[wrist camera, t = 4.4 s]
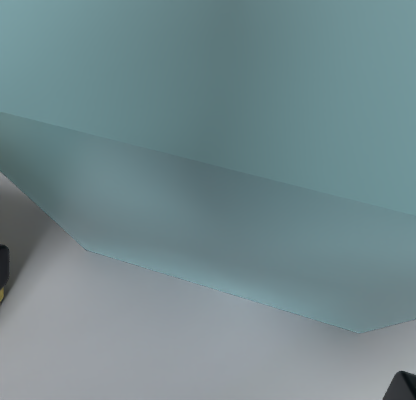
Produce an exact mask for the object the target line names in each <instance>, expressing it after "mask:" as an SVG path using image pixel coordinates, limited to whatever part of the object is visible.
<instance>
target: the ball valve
mask: <svg viewBox="0 0 416 400" xmlns="http://www.w3.org/2000/svg"><path fill="white" fill-rule="evenodd" d="M3 290H4V287H3V288H2V289H1V290H0V302H1V300H2V299H3Z"/></svg>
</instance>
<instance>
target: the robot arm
mask: <svg viewBox="0 0 416 400" xmlns="http://www.w3.org/2000/svg"><path fill="white" fill-rule="evenodd" d="M9 275H10V267H9V249H8V247H7V246H5V245H3V244H0V290H1V289H2V288H3V287H4V286H5V285H6V283H7V281H8V279H9ZM383 400H416V375H414V374H411V373H408V372H405V371H399V372H397V373H396V374H395V376H394V378H393V380H392V382H391V384H390V386H389V388H388V389H387V391H386V393H385V395H384V397H383Z"/></svg>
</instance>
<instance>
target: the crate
mask: <svg viewBox="0 0 416 400" xmlns="http://www.w3.org/2000/svg"><path fill="white" fill-rule="evenodd" d="M0 171H1V172H2V173H3V174H4V175H5V176H6V177H7V178H8V179H9V180H10V181H11V182H13V183H14V184H15V185H16V186H17V187H18V188H19V189H20V190H21V191H22V192H23V193H24V194H26V195H27V196H28V197H29V198H30V199H31V200H32V201H33V202H34V203H35V204H36V205H38V206H39V207H40V208H41V209H42V210H43V211H44V212H45V213H46V214H47V215H48V216H49V217H51V218H52V219H53V220H54V221H55V222H56V223H57V224H58V225H59V226H60V227H61V228H63V229H64V230H65V231H66V232H67V233H68V234H69V235H70V236H71V237H72V238H73V239H74V240H76V241H77V242H78V243H79V244H80V245H81V246H82V247H83V248H84V249H85V250H88V251H91V252H94V253H98V254H101V255H104V256H107V257H111V258H114V259H117V260H121V261H124V262H127V263H130V264H134V265H137V266H140V267H143V268H147V269H150V270H153V271H157V272H160V273H163V274H166V275H170V276H173V277H176V278H179V279H183V280H186V281H189V282H193V283H196V284H199V285H202V286H206V287H209V288H212V289H216V290H219V291H222V292H225V293H229V294H232V295H235V296H238V297H242V298H245V299H248V300H252V301H255V302H258V303H261V304H265V305H268V306H271V307H274V308H278V309H281V310H284V311H288V312H291V313H294V314H297V315H301V316H304V317H307V318H310V319H314V320H317V321H320V322H324V323H327V324H330V325H333V326H337V327H340V328H343V329H346V330H350V331H353V332H356V333H364V332H368V331H372V330H376V329H380V328H383V327H387V326H391V325H395V324H399V323H403V322H407V321H411V320H415V319H416V0H0Z"/></svg>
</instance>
